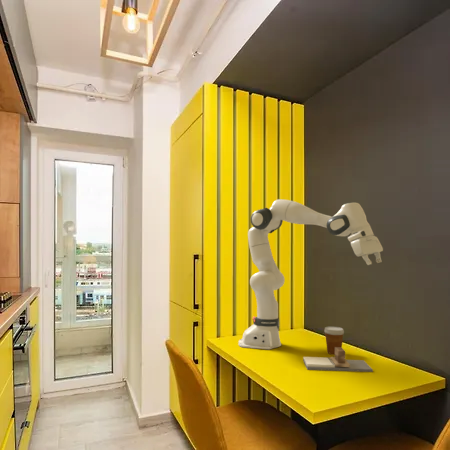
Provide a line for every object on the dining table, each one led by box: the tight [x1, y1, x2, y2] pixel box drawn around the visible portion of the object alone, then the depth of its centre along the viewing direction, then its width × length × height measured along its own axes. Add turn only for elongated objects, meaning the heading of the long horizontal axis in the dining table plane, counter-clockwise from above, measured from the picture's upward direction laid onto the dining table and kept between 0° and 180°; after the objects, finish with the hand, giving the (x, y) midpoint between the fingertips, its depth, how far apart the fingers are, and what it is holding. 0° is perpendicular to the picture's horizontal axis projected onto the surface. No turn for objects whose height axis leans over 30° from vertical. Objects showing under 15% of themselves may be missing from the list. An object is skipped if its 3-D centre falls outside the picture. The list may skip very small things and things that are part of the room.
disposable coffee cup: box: [323, 326, 345, 356], centre depth 175 cm, size 10×10×12 cm
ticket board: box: [302, 356, 374, 373], centre depth 156 cm, size 27×12×2 cm, turn 86°
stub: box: [329, 347, 350, 367], centre depth 156 cm, size 6×10×6 cm, turn 176°
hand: (374, 263), depth 158 cm, fingers open, 8 cm apart
